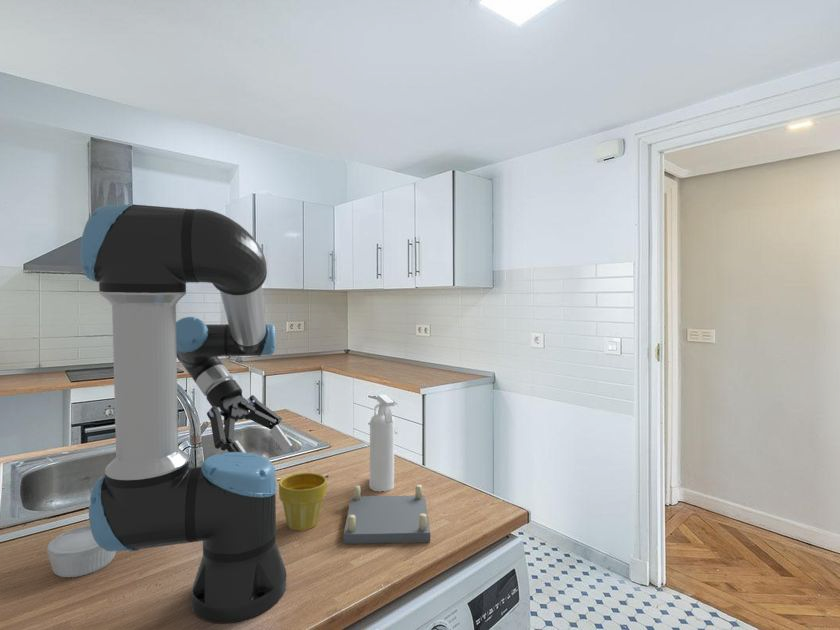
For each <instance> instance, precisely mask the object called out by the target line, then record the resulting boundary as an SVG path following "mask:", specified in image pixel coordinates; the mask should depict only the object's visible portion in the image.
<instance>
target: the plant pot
mask: <svg viewBox="0 0 840 630" xmlns="http://www.w3.org/2000/svg"><path fill="white" fill-rule="evenodd" d="M327 484H328V483H327V478H326V476H325V475H322V474H320V473H316V472H300V473H294V474H290V475H287V476H285V477H283V478H282V479H280V481H279V482H278V497H279V500H280V501H281V502H282V505H283V511H284V516H285V522H286V526H287V527H288V529H290V530H292V531H298V532H299V531H306V530H307V531H308V530H310V529H313V528H314V527H315V526H317V524H318V522H319V517H320V513H321V507H322V503H323V499H324V498H325V497H326V495H327V487H328V485H327Z"/></svg>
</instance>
